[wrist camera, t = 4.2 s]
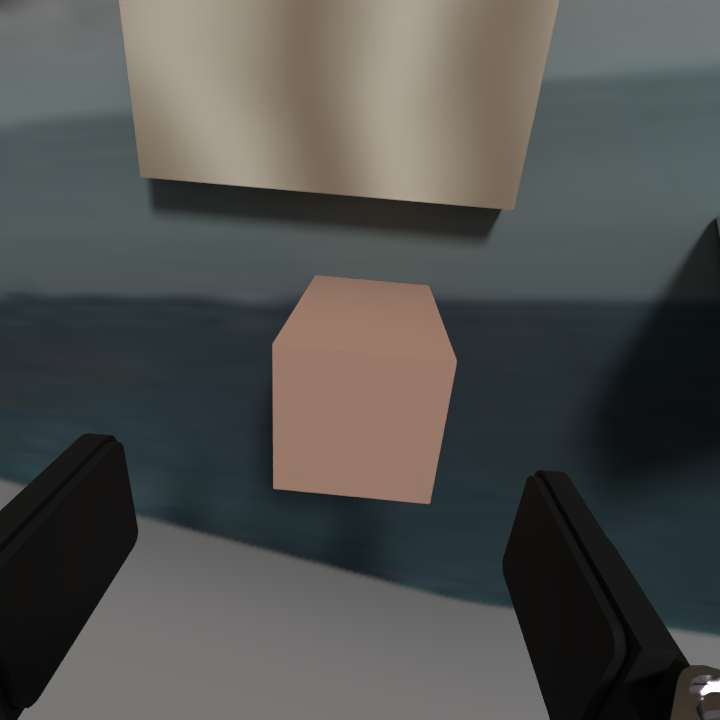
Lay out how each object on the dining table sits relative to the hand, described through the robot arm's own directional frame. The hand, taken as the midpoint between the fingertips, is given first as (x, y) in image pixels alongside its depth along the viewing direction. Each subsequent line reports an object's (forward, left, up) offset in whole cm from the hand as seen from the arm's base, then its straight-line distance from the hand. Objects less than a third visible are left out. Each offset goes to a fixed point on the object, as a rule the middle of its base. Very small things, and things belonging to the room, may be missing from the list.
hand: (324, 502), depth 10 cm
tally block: (-1, 0, -11) cm, 11 cm away
